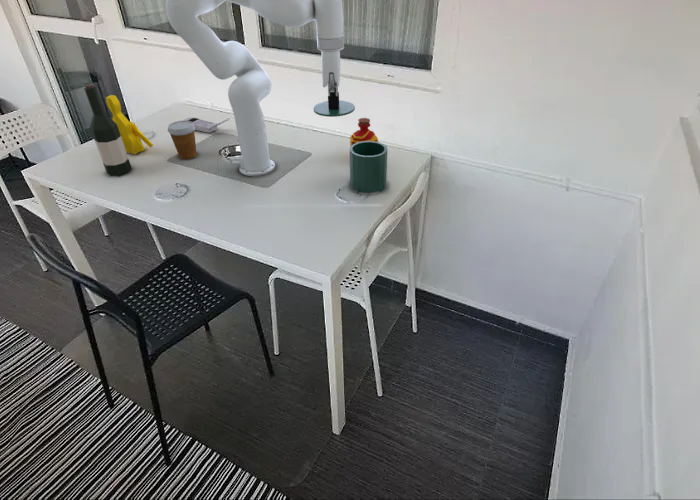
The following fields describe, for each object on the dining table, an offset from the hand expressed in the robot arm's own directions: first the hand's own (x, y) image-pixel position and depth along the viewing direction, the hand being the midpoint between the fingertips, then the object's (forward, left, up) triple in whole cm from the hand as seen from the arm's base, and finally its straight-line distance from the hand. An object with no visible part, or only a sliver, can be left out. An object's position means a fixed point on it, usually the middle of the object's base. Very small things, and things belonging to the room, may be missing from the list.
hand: (334, 106), depth 139 cm
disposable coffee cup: (-56, +19, -25) cm, 64 cm away
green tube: (+11, -5, -25) cm, 27 cm away
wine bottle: (-77, +7, -25) cm, 82 cm away
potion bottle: (+10, +14, -25) cm, 30 cm away
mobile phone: (-57, +44, -21) cm, 75 cm away
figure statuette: (-78, +23, -25) cm, 85 cm away
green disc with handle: (0, 0, -1) cm, 1 cm away
